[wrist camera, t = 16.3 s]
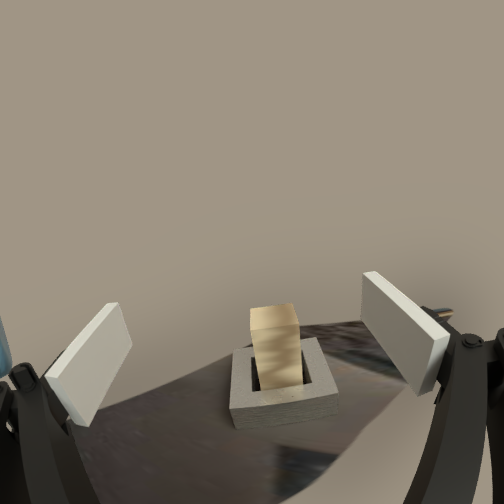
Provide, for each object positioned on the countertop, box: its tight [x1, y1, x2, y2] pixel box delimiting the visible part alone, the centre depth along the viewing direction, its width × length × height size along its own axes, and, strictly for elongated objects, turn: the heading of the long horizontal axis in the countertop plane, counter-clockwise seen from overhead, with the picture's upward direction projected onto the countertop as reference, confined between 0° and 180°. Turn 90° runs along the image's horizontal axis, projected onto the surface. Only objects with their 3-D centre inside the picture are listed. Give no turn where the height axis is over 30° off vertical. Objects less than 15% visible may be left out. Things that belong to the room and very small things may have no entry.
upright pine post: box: [250, 303, 303, 391], centre depth 31 cm, size 5×5×12 cm
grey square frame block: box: [229, 337, 339, 429], centre depth 32 cm, size 12×12×4 cm
